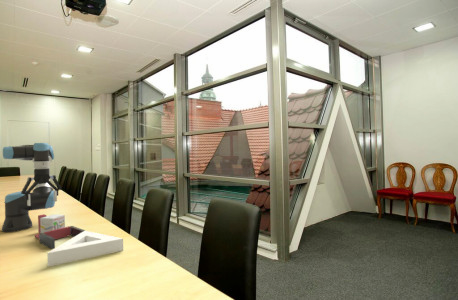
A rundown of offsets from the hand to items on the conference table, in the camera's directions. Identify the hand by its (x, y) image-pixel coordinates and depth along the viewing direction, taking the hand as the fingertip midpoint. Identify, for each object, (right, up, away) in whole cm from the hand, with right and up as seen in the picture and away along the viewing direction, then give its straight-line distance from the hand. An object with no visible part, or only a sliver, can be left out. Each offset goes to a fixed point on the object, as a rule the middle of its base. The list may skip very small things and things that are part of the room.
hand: (42, 203), depth 154 cm
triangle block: (+42, -18, -28) cm, 53 cm away
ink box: (+12, -17, -9) cm, 23 cm away
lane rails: (+23, -17, -16) cm, 33 cm away
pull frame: (+8, -17, -6) cm, 20 cm away
